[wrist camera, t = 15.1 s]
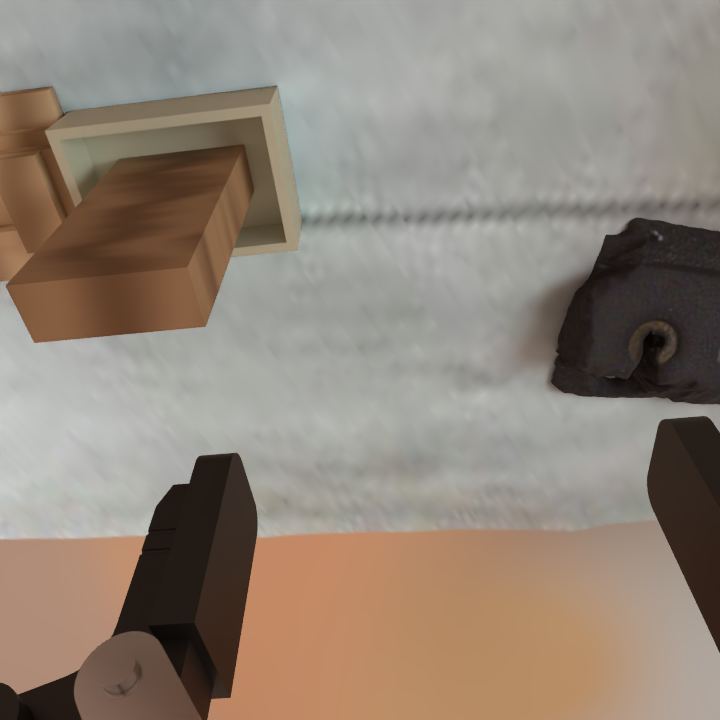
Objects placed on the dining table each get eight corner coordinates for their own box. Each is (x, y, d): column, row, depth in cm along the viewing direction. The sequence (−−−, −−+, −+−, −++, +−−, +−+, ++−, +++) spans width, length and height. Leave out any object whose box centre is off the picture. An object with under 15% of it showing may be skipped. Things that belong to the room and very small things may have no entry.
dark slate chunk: (779, 413, 55) (811, 453, 51) (532, 380, 53) (546, 419, 49) (896, 254, 46) (945, 287, 42) (604, 206, 44) (628, 237, 40)
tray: (277, 85, 39) (269, 103, 35) (302, 223, 44) (297, 250, 41) (70, 110, 40) (44, 130, 36) (119, 243, 45) (100, 270, 42)
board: (244, 144, 40) (187, 267, 27) (254, 190, 41) (205, 326, 29) (119, 158, 40) (5, 285, 27) (134, 203, 42) (34, 342, 29)
